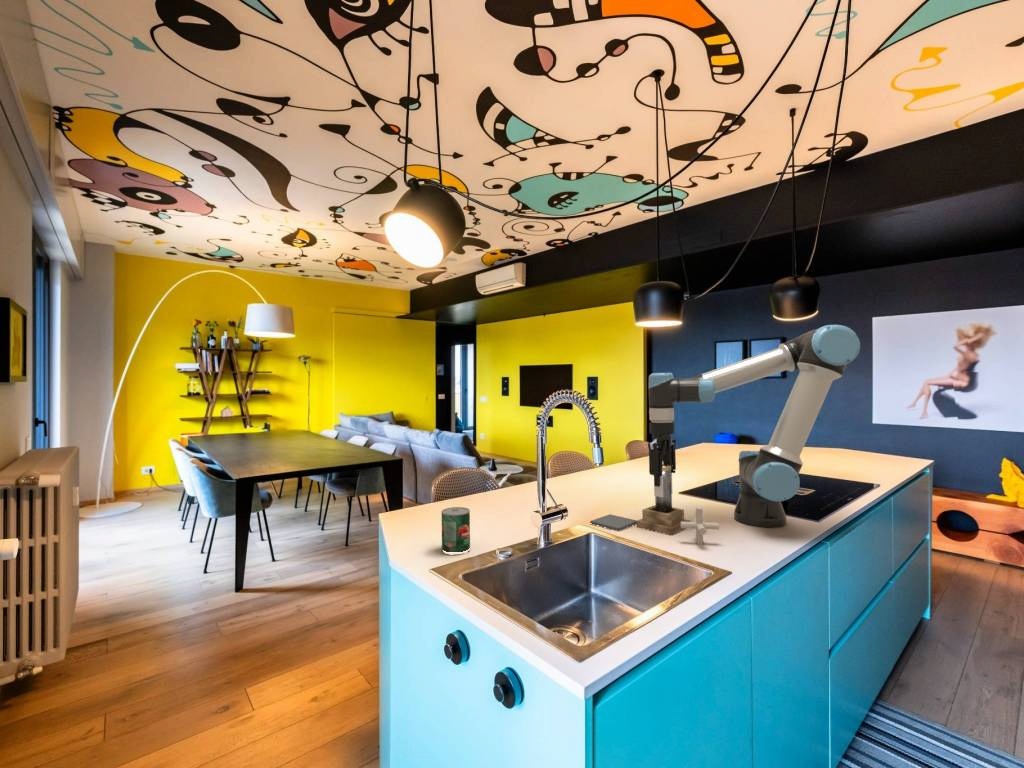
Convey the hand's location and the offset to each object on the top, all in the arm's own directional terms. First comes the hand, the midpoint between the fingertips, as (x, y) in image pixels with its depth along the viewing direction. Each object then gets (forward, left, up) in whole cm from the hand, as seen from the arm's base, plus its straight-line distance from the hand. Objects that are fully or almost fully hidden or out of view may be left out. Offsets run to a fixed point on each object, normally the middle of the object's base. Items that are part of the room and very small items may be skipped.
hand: (663, 494), depth 147 cm
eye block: (0, 0, -10) cm, 10 cm away
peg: (0, 0, -5) cm, 5 cm away
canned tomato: (+30, +59, -10) cm, 67 cm away
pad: (+13, +8, -10) cm, 19 cm away
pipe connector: (-15, +7, -10) cm, 20 cm away
